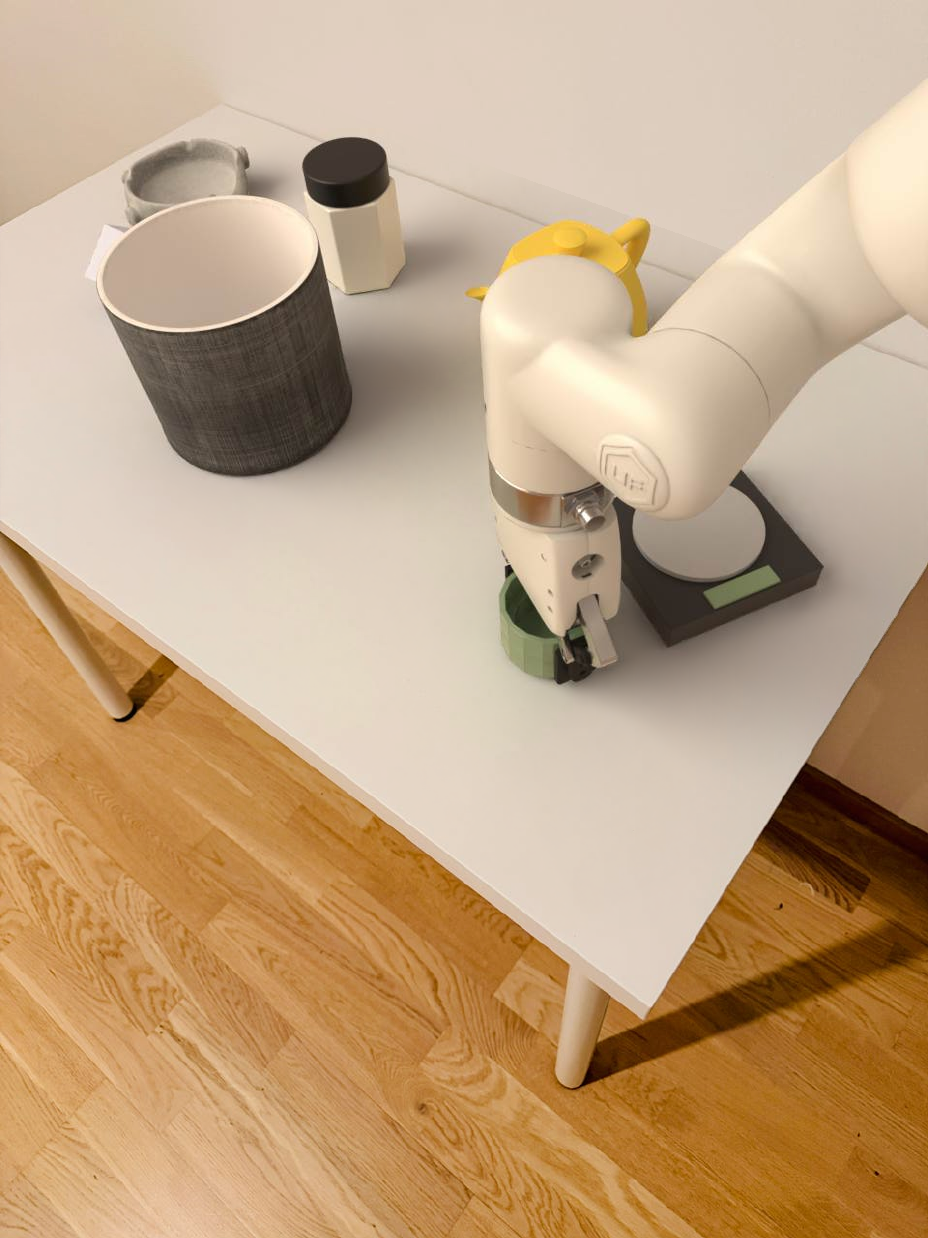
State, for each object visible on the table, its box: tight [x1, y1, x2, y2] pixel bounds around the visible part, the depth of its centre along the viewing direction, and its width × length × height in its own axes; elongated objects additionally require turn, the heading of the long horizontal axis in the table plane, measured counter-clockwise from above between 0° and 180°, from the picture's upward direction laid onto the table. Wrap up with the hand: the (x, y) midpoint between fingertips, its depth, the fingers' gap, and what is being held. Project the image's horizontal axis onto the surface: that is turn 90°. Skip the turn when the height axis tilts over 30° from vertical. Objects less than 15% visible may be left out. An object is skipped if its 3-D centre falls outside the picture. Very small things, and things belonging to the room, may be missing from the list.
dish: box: [121, 137, 251, 228], centre depth 102 cm, size 14×14×5 cm
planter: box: [95, 195, 353, 476], centre depth 78 cm, size 18×18×16 cm
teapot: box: [464, 217, 651, 338], centre depth 81 cm, size 13×20×12 cm
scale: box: [612, 469, 825, 648], centre depth 71 cm, size 13×13×3 cm
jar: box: [301, 136, 407, 295], centre depth 91 cm, size 9×8×12 cm
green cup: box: [498, 572, 584, 679], centre depth 66 cm, size 7×7×5 cm
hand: (550, 631), depth 67 cm, fingers closed on green cup, 7 cm apart
